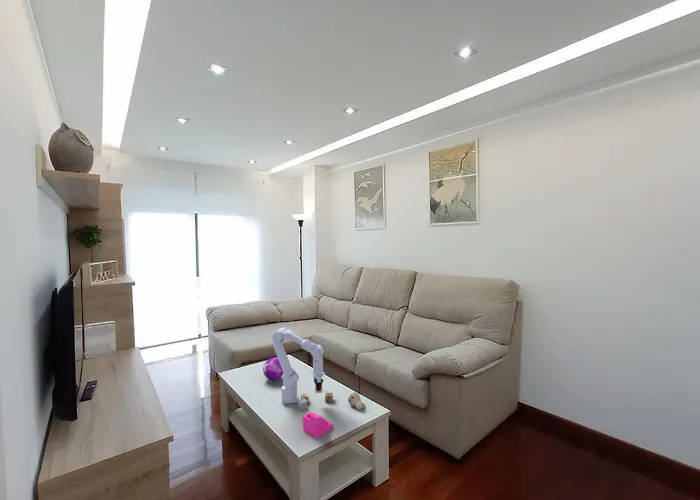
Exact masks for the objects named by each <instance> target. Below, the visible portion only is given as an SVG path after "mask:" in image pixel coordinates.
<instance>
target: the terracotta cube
mask: <svg viewBox="0 0 700 500" xmlns="http://www.w3.org/2000/svg"><path fill="white" fill-rule="evenodd" d="M314 392H315V393H314V394H321V393H323V385H322V386H321V391H317V389H316V385H315V384H314Z"/></svg>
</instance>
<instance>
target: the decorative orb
mask: <svg viewBox="0 0 700 500" xmlns="http://www.w3.org/2000/svg"><path fill="white" fill-rule="evenodd" d="M262 371H263V375H264V376H265V378H266V379H267V380H270V381H276V380H279V379H281V378H282V376H283V370H282V368H281V365H280V363H279V360H278V358H277V356H276V357H275V356H273V357H270V358H268V359H267V360H266V361H265V362H264V365H263V368H262Z"/></svg>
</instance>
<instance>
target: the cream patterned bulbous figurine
mask: <svg viewBox="0 0 700 500" xmlns="http://www.w3.org/2000/svg"><path fill="white" fill-rule="evenodd" d="M347 401H348V403H349V404H350V405H351V406H353V407H354V408H356V409H357V410H358V411H359V410H360V411H361V410H362V409H365V408H366V405H365V404H364V403H363V402H362V399H361V396H360V394H359V393H358V392H352V393H351V394H349V395H348V398H347Z"/></svg>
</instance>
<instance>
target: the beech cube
mask: <svg viewBox="0 0 700 500" xmlns="http://www.w3.org/2000/svg"><path fill="white" fill-rule="evenodd" d="M304 398H305V400H306V401H307V404H309V402H310V400H309V399H310V396H309V394H308V393H307V392H306V393H302V394H300V400H301V399H304Z"/></svg>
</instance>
